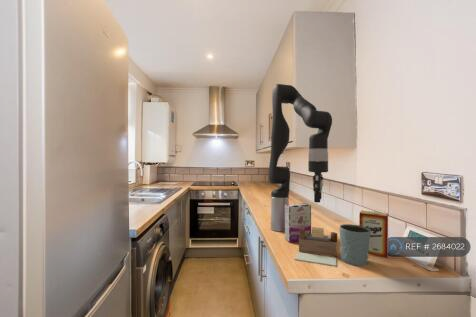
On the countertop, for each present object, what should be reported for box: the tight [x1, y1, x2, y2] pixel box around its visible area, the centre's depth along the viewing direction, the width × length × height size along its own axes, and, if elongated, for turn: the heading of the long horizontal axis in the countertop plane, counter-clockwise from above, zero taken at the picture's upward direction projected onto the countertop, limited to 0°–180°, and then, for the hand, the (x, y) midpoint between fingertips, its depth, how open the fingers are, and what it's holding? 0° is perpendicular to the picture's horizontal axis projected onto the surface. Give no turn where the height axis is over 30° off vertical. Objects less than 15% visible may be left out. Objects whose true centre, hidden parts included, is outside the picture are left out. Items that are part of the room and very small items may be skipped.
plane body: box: [298, 225, 338, 258], centre depth 94 cm, size 6×14×9 cm, turn 69°
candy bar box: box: [284, 202, 312, 243], centre depth 107 cm, size 11×5×16 cm, turn 105°
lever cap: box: [307, 226, 329, 242], centre depth 94 cm, size 4×8×4 cm, turn 69°
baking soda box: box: [358, 210, 389, 258], centre depth 94 cm, size 10×6×16 cm
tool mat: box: [294, 251, 337, 267], centre depth 86 cm, size 7×14×1 cm, turn 69°
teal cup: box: [339, 224, 371, 267], centre depth 85 cm, size 10×10×12 cm
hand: (318, 200), depth 94 cm, fingers open, 8 cm apart
